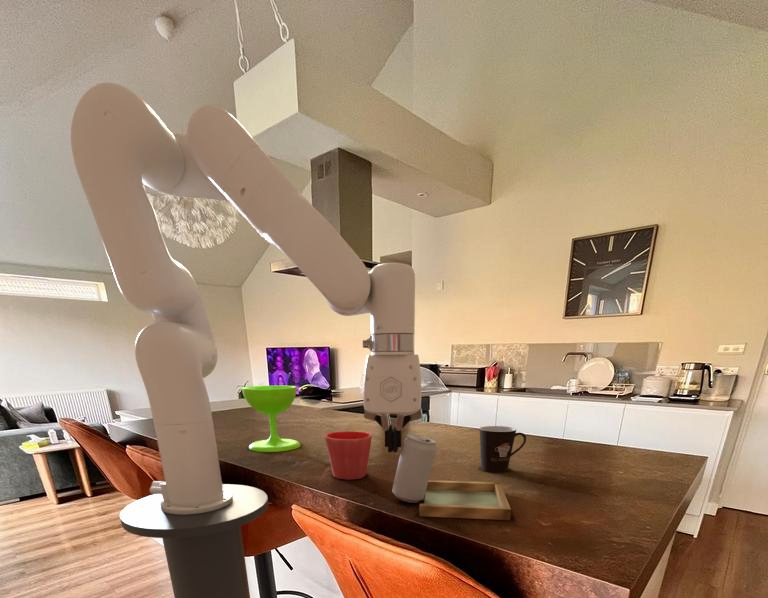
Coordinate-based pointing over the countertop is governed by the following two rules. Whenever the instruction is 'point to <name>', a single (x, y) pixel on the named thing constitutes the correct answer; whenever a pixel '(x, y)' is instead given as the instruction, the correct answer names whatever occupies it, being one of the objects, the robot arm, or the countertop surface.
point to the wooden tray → (465, 500)
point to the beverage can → (414, 468)
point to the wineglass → (271, 414)
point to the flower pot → (348, 453)
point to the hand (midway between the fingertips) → (393, 450)
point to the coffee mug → (497, 447)
